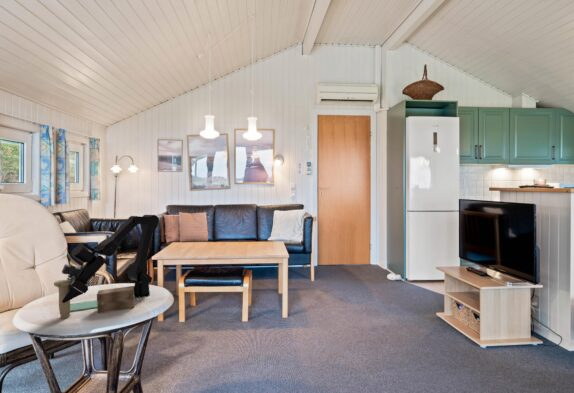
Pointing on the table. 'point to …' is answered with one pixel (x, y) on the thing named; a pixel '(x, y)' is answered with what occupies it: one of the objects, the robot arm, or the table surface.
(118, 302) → the cabinet
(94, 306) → the mat
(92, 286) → the table surface
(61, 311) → the handle
